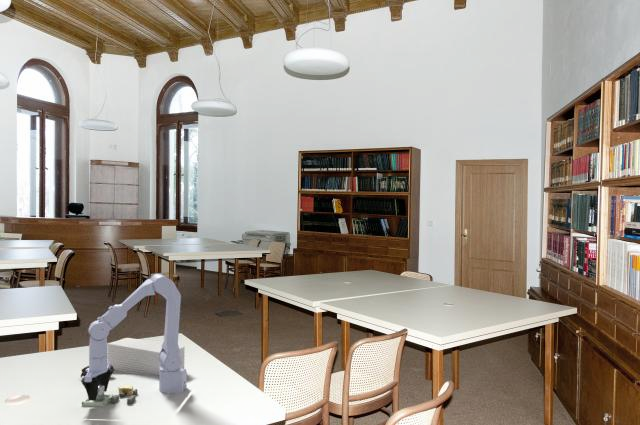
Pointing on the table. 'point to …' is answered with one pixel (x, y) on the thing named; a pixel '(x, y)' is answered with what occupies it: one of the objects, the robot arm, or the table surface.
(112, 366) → the brown piece
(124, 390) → the tan rectangular block
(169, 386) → the robot arm
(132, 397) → the board
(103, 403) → the tray
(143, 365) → the long grey box
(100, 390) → the shiny metal cylinder
